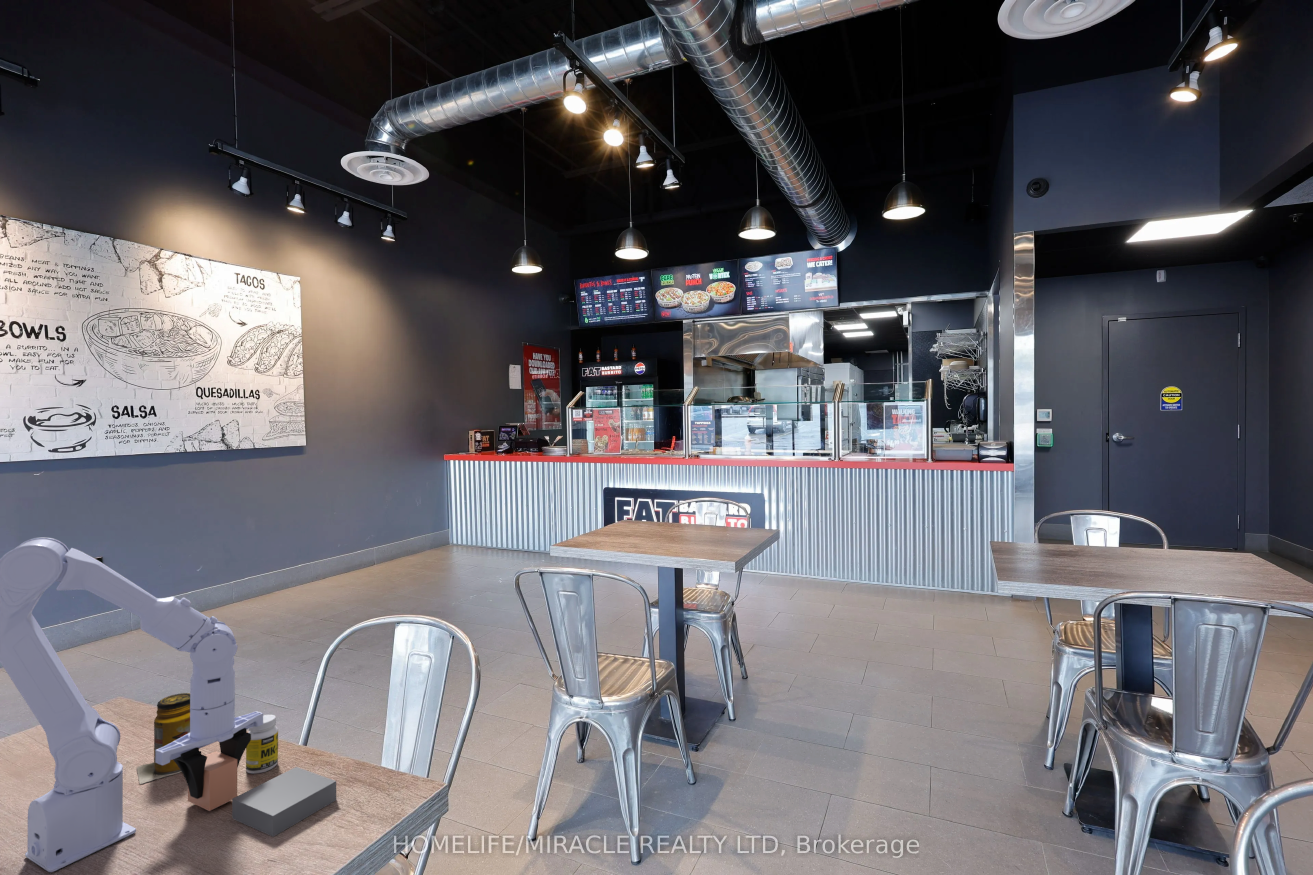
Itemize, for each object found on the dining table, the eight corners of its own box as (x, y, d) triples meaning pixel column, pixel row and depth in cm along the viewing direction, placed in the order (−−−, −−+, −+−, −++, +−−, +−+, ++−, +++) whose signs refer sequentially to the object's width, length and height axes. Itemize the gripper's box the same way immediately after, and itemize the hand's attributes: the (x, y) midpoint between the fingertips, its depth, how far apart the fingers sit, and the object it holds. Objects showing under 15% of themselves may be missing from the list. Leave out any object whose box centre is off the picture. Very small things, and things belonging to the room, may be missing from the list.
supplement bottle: (262, 775, 103) (262, 726, 103) (239, 773, 104) (238, 724, 104) (284, 761, 108) (284, 714, 108) (262, 758, 109) (262, 712, 109)
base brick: (273, 836, 87) (272, 815, 87) (232, 818, 92) (232, 798, 92) (336, 799, 96) (336, 780, 96) (296, 784, 100) (296, 766, 101)
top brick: (209, 810, 92) (209, 771, 92) (187, 800, 95) (187, 762, 95) (237, 796, 96) (237, 759, 96) (215, 787, 99) (215, 750, 99)
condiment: (202, 766, 107) (202, 698, 107) (139, 785, 101) (139, 713, 101) (196, 751, 112) (196, 686, 112) (136, 768, 106) (136, 700, 106)
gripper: (173, 726, 87) (173, 820, 87) (274, 689, 100) (274, 771, 100) (147, 717, 90) (147, 808, 90) (249, 682, 104) (248, 762, 103)
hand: (212, 788), depth 95 cm, fingers closed on top brick, 4 cm apart
